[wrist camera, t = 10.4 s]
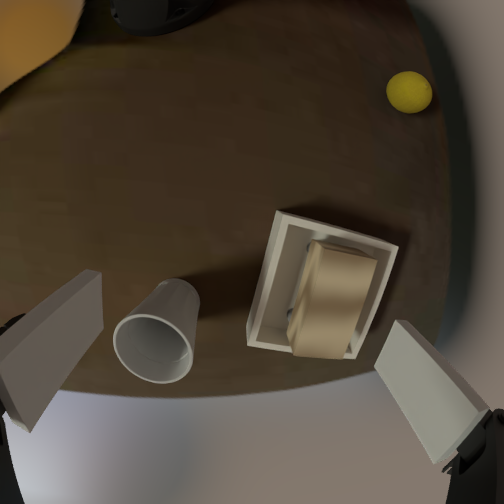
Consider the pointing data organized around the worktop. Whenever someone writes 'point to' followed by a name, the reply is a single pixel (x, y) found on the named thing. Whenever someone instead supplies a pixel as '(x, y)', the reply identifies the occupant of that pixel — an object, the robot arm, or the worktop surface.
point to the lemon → (409, 92)
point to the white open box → (290, 274)
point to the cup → (160, 333)
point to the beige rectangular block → (329, 300)
